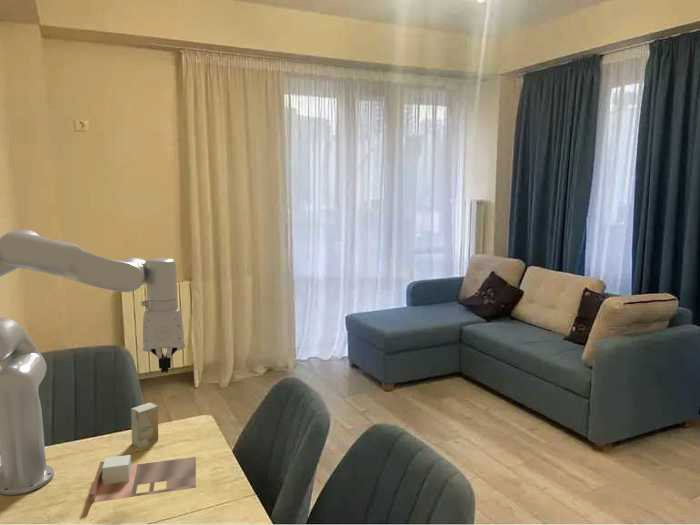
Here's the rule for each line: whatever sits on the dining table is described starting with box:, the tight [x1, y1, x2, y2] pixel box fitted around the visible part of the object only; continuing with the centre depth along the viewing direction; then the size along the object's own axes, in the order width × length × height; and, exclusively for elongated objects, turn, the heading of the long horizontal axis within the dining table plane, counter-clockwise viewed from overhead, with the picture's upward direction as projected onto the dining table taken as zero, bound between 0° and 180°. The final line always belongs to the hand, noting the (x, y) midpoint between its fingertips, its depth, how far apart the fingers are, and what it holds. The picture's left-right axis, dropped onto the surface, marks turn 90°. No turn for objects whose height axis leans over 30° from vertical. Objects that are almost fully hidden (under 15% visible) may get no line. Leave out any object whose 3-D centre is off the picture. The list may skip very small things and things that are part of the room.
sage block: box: [102, 454, 132, 485], centre depth 132 cm, size 6×5×4 cm
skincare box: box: [130, 402, 159, 449], centre depth 150 cm, size 6×4×12 cm
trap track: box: [89, 456, 197, 509], centre depth 132 cm, size 24×15×4 cm, turn 107°
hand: (165, 370), depth 140 cm, fingers closed
